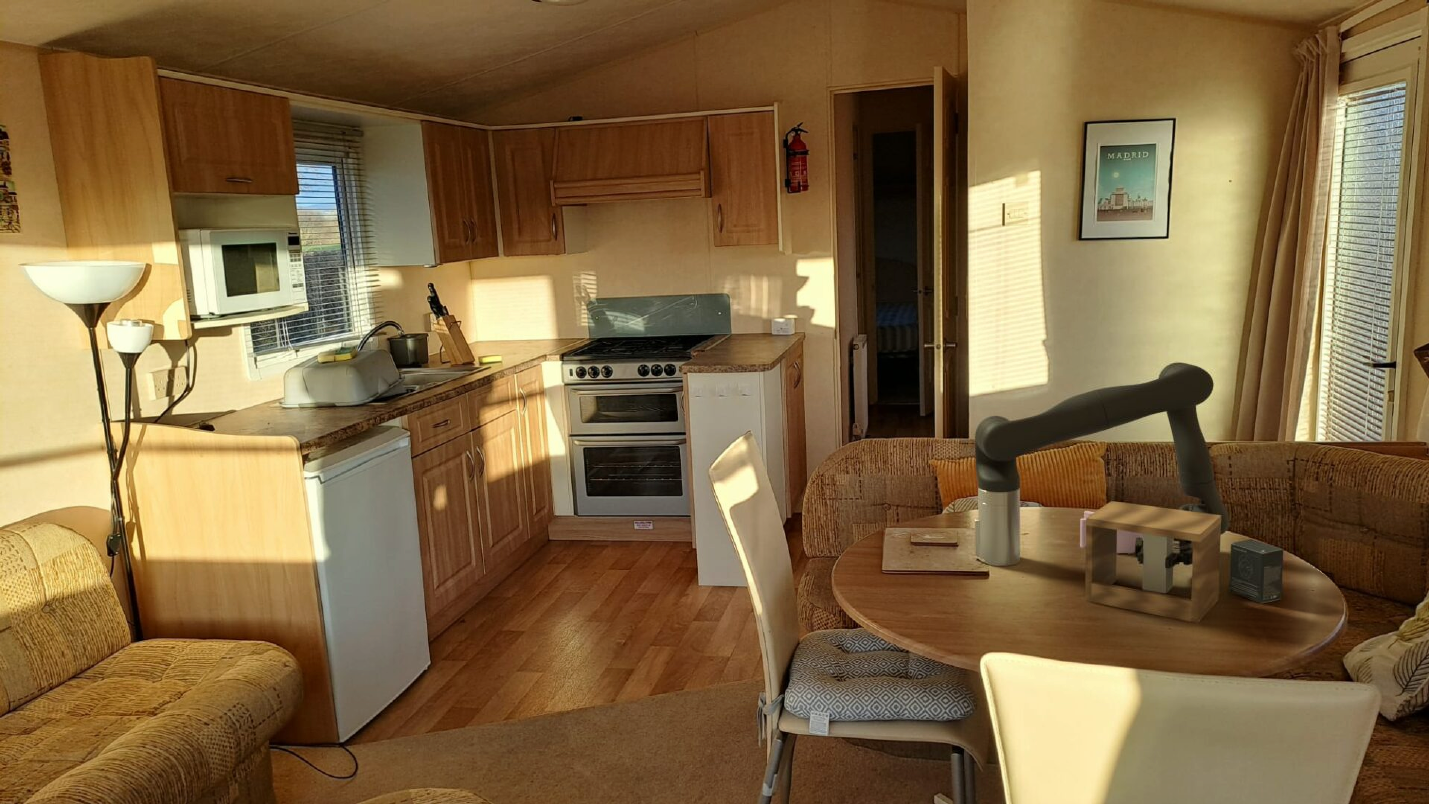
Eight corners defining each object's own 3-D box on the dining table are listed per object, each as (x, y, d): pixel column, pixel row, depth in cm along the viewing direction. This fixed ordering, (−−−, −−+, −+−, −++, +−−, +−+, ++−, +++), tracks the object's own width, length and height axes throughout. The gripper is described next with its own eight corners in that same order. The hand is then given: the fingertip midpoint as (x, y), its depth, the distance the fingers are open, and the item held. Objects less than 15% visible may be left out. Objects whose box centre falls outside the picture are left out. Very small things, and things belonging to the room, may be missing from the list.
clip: (1175, 543, 239) (1175, 514, 238) (1171, 559, 228) (1172, 530, 227) (1085, 535, 248) (1085, 508, 247) (1078, 551, 238) (1078, 522, 236)
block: (1142, 589, 208) (1143, 533, 206) (1149, 582, 211) (1150, 527, 209) (1165, 593, 205) (1166, 536, 203) (1172, 586, 208) (1173, 530, 206)
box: (1282, 599, 202) (1284, 548, 200) (1260, 604, 200) (1262, 553, 198) (1249, 587, 209) (1251, 538, 207) (1228, 592, 207) (1230, 542, 206)
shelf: (1085, 600, 207) (1086, 518, 204) (1110, 580, 217) (1111, 501, 214) (1197, 622, 193) (1200, 534, 190) (1218, 599, 204) (1221, 515, 201)
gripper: (1145, 517, 221) (1118, 538, 209) (1216, 527, 212) (1192, 549, 199) (1145, 550, 223) (1117, 572, 210) (1215, 561, 213) (1191, 585, 201)
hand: (1154, 561), depth 205 cm, fingers closed on block, 4 cm apart
